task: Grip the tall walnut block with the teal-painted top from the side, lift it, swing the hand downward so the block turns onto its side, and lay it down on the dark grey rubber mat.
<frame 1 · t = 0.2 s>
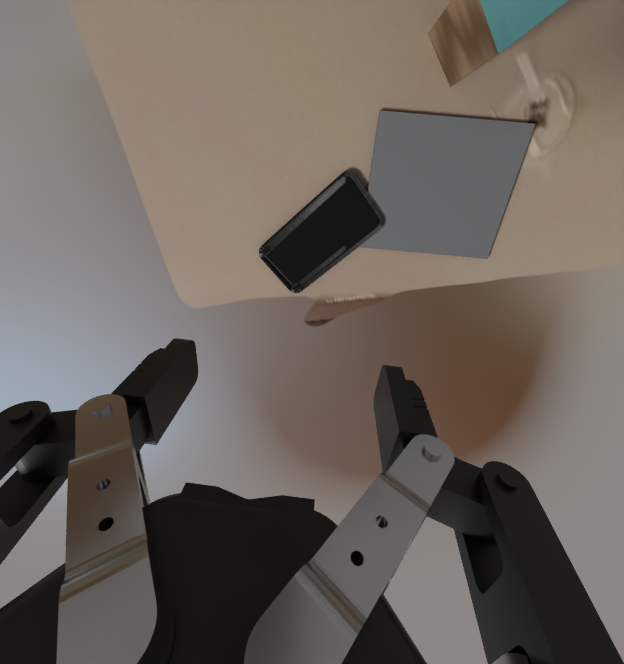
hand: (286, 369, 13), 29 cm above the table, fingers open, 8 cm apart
grey mat: (437, 191, 35), on the table
walnut block: (464, 40, 29), on the table
phone: (320, 236, 39), on the table
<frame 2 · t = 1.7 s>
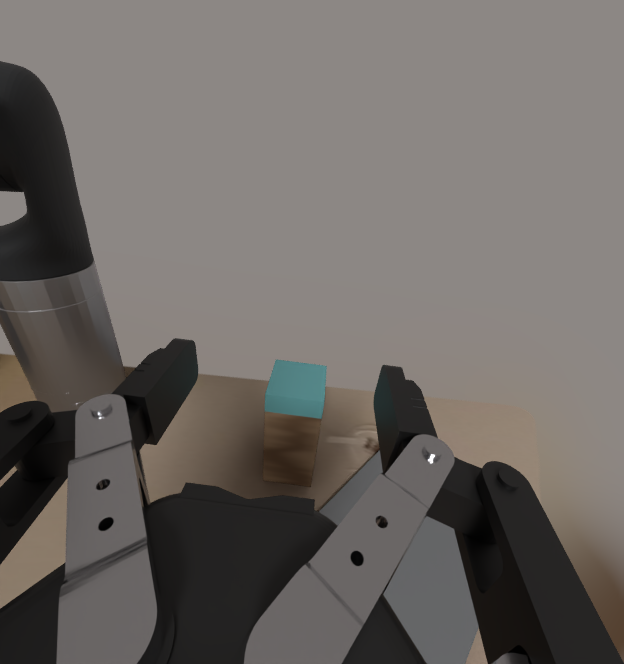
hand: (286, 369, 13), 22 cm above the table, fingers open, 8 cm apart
grey mat: (396, 552, 27), on the table
walnut block: (290, 462, 34), on the table
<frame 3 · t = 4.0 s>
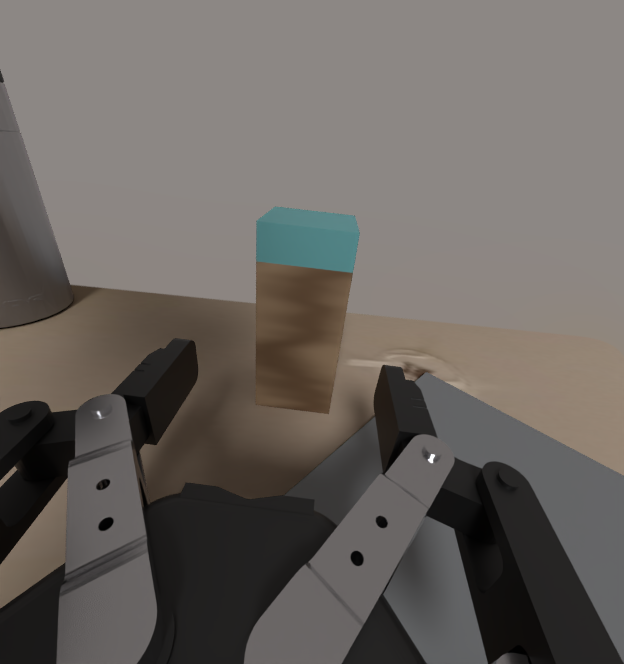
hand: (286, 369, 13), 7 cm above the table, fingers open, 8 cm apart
grey mat: (478, 502, 16), on the table
walnut block: (296, 385, 23), on the table
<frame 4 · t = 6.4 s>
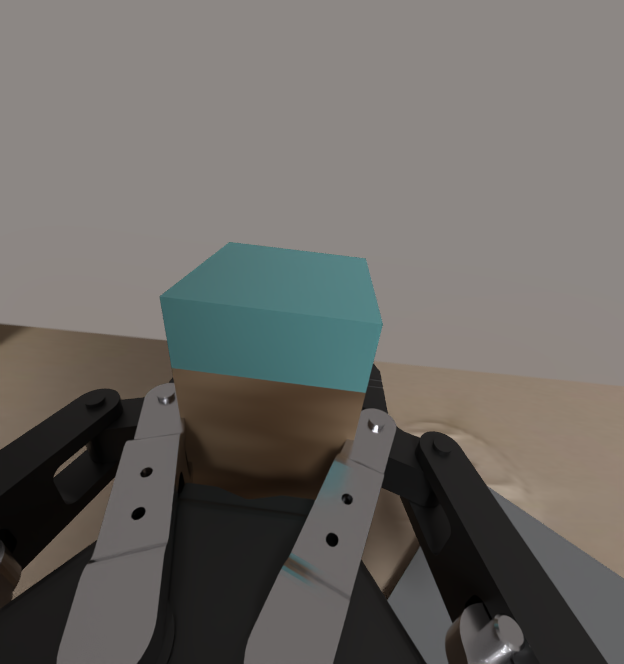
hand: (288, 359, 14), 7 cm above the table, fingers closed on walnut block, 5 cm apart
walnut block: (273, 505, 15), on the table, touching gripper
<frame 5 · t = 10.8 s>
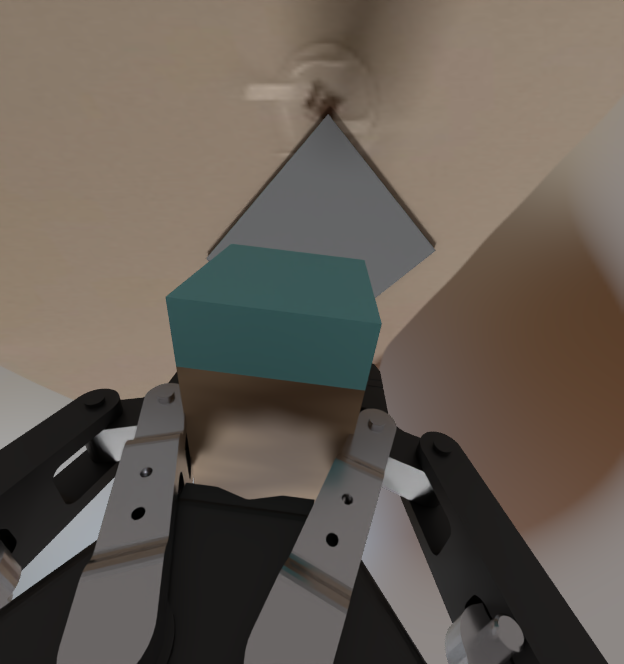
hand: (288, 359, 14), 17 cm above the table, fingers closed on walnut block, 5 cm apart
grey mat: (316, 253, 28), on the table
walnut block: (273, 503, 15), point 20 cm above the table, tilted 90°, touching gripper
when the fingers open (2 cm above the table, at t = 14.4 s): walnut block drops 1 cm, resting on grey mat.
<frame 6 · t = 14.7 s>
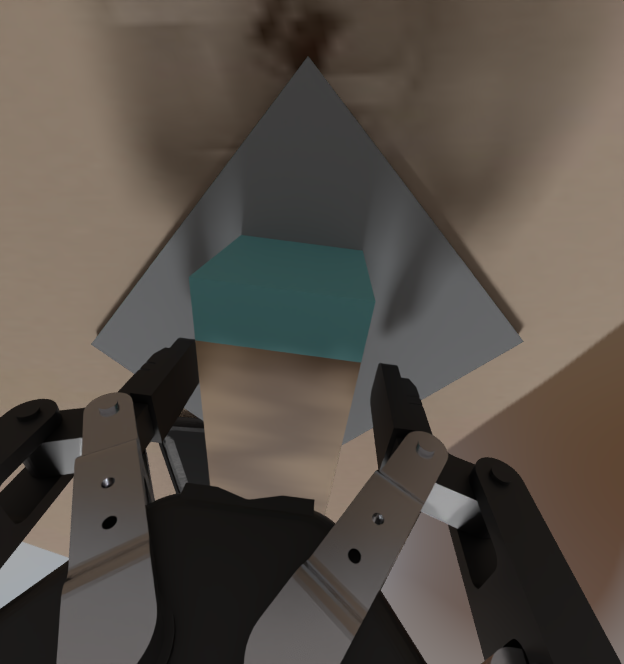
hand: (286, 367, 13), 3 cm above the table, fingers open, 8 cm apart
grey mat: (294, 337, 15), on the table
walnut block: (276, 479, 16), point 3 cm above the table, tilted 90°, touching grey mat
phone: (236, 485, 23), on the table
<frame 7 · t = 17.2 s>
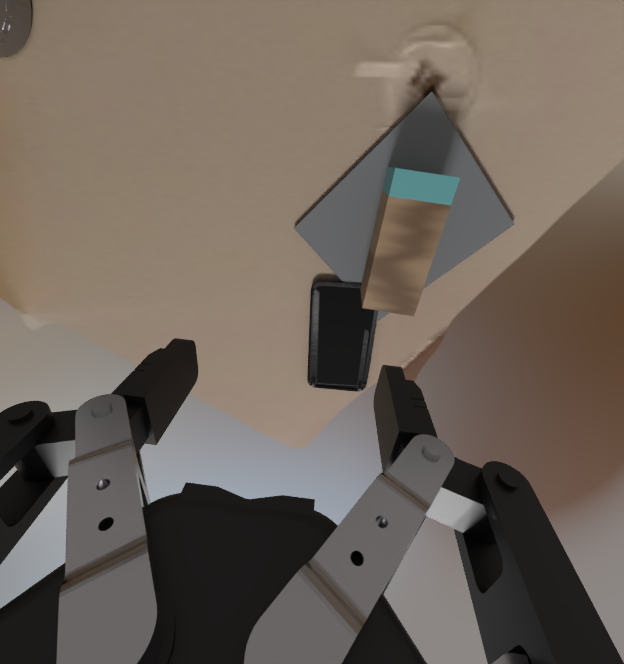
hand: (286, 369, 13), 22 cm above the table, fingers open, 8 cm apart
grey mat: (399, 225, 30), on the table
walnut block: (385, 301, 31), point 3 cm above the table, tilted 90°, touching grey mat
phone: (341, 336, 38), on the table
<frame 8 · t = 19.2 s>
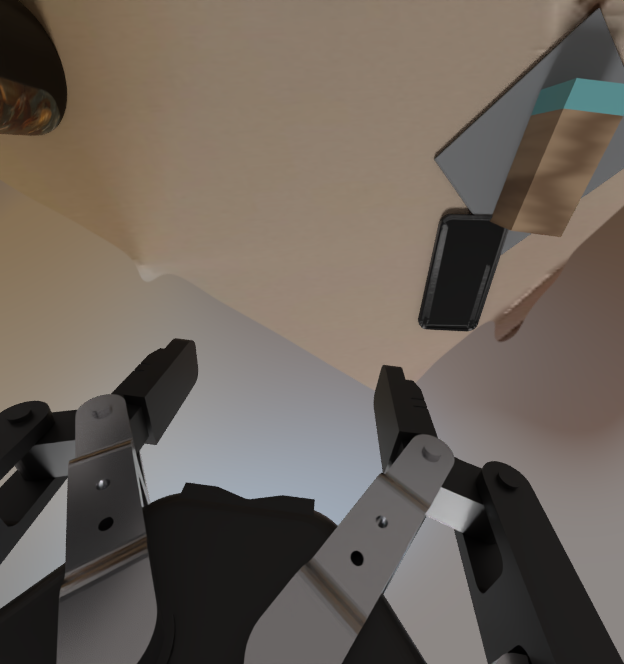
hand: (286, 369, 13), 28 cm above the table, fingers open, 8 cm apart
grey mat: (539, 152, 32), on the table
walnut block: (522, 228, 33), point 3 cm above the table, tilted 90°, touching grey mat
jar: (13, 67, 32), on the table
phone: (457, 275, 39), on the table
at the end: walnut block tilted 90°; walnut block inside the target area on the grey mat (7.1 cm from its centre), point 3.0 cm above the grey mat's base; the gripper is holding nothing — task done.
